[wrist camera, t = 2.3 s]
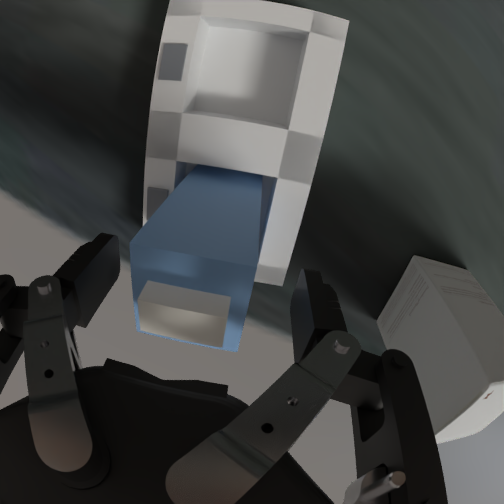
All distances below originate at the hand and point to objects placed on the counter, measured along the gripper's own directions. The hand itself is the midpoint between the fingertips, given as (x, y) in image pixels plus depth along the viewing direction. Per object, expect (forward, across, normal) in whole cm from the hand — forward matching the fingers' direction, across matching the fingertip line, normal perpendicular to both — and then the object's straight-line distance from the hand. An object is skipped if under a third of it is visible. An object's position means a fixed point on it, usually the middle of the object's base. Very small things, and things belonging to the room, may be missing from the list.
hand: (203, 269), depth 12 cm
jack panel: (+8, 0, -4) cm, 9 cm away
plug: (+7, 0, 0) cm, 7 cm away
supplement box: (+8, -18, +5) cm, 20 cm away
